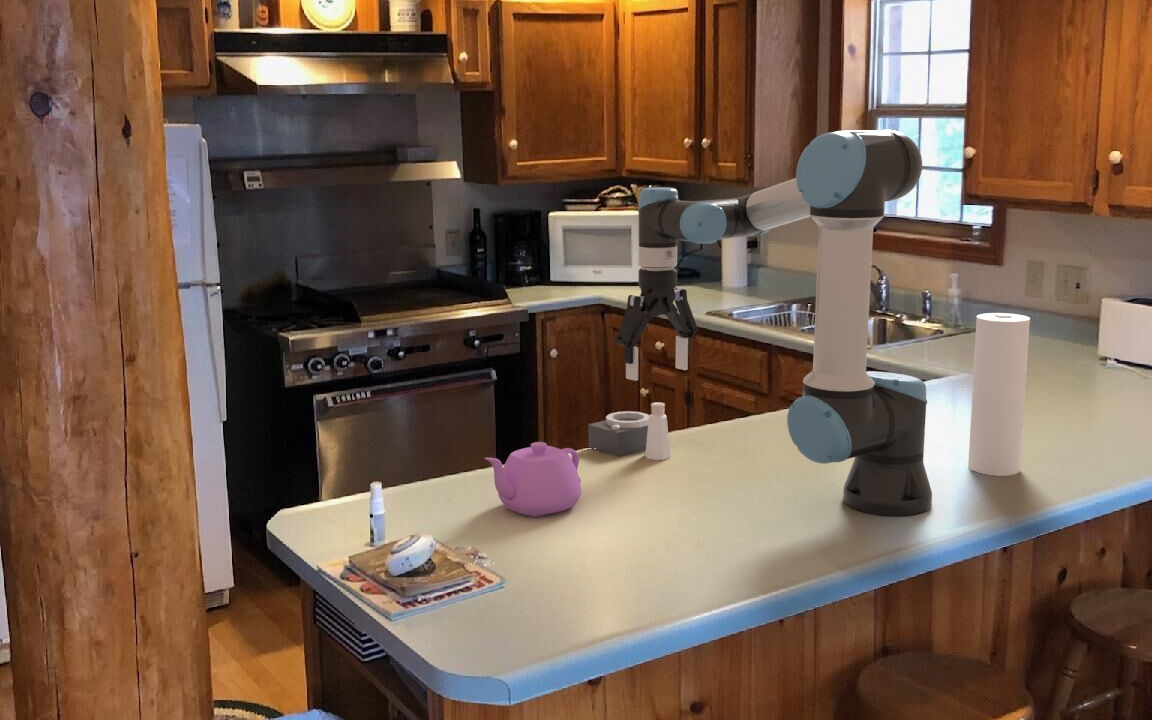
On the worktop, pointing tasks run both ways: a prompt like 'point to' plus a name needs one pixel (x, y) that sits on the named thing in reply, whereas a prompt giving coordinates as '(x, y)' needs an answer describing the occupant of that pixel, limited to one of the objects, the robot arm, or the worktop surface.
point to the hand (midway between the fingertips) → (657, 374)
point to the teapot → (538, 480)
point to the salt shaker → (657, 434)
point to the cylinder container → (998, 393)
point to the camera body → (619, 433)
